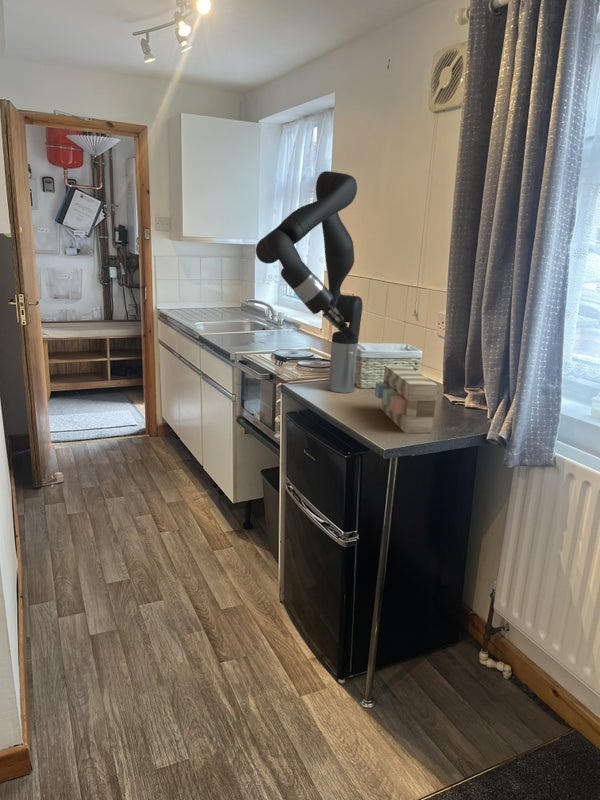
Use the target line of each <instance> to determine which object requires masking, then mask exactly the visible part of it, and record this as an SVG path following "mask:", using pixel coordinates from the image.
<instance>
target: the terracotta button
mask: <svg viewBox="0 0 600 800" xmlns="http://www.w3.org/2000/svg"><path fill="white" fill-rule="evenodd" d="M405 407H406V399H405V398H404V397H402V396H391V403H390V410H391V411H392V412H393V413H404V414H405Z"/></svg>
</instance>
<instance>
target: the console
mask: <svg viewBox="0 0 600 800" xmlns="http://www.w3.org/2000/svg"><path fill="white" fill-rule="evenodd" d="M383 383H387V384H388V385H389V389H394V390H395V391H396V392H398V393H397V396H402V397H404V398H405V399H406V407H405V414H404V413H393V412H392V411H391V410H390V406H387V405H385V404H384V403H383V402H382V401H380V402H381V403H380V409H381V410H382V411H383V412H384V413H385V414H386V416H388V418H389V419H390V420H392V421H393V423H395V424H396V426H397V427H399V429H400V430H401V431H403V433H406V434H407V433H409V434H410V433H411V434H412V433H415V434H418V433H419V434H420V433H421V434H422V433H426V434H432V432H433V425H434V424H433V423H434V417H435V409H436V394H437V391H438V384H436V382H434V381H432V380H431V379H429V378H428V377H426V376H425V375H424V374H422V373H420V372H417V371H416V370H414V369H413V368H411V367H410V366H385V371H384V382H383Z"/></svg>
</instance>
